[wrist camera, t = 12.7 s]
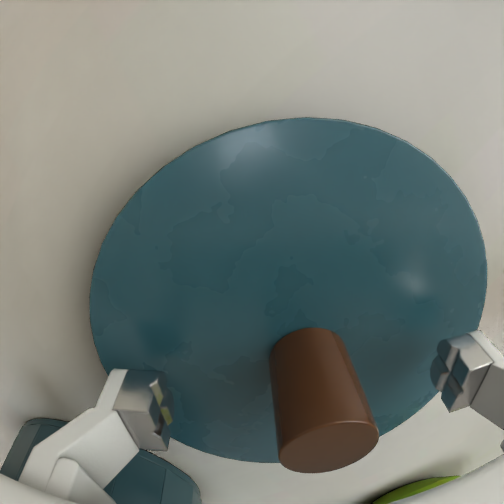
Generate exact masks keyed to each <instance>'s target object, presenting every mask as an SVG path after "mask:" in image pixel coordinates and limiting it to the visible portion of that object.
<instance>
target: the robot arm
mask: <svg viewBox="0 0 504 504" xmlns="http://www.w3.org/2000/svg"><path fill="white" fill-rule="evenodd" d="M436 351H437V353H438V355H437V357H436V358H435V359H434V360H433V361H432V364H431V368H430V378H431V381H432V384H433V386H434V387H435V389H437V390H439V391H441V392H442V395H441V399H442V401H443V403H444V404H445V406H446V408H447V409H448V411H449V413H450V412H453V411H456V410H459V409H462V408H465V407H467V406H470V407H471V408H472V409H474V410H475V411H476V412H478V413H479V414H481V415H482V416H484V417H485V418H487V419H488V420H490V421H491V422H493V423H494V424H496V425H497V426H498V427H500V428H501V429H503V430H504V356H503V355H502V354H501V353H500V351H499V350H498V349H497V348H496V347H495V346H494V345H493V344H492V342H491V341H490V340H489V339H488V338H487V337H486V336H485V335H484V334H483V333H482V332H481V331H479V330H475V331H472V332H468V333H466V334H461V335H458V336H454V337H450V338H447V339H443V340H441V341H440V342H439V344H438V346H437V349H436ZM167 381H168V380H167V378H166V375H165V373H164V372H163V371H154V370H135V369H130V370H128V369H116V368H114V369H113V370H112V371H111V372H110V374H109V376H108V378H107V381H106V383H105V385H104V387H103V390H102V392H101V394H100V396H99V399H98V401H97V403H96V406H95V408H89V409H87V410H86V411H85V412H83V413H82V414H80V415H79V416H78V417H76V418H75V419H73V420H72V421H70V422H69V423H68V424H66V425H65V426H63V427H62V428H60V429H59V430H58V431H56V432H55V433H53V434H52V435H50V436H49V437H47V438H46V439H45V440H43V441H42V442H40V443H39V444H37V445H36V446H34V447H33V449H32V451H31V453H30V456H29V458H28V460H27V462H26V464H25V467H24V469H23V471H22V473H21V476H20V478H19V480H18V481H16V480H13V479H11V478H9V477H7V476H5V475H3V474H1V473H0V504H116V502H115V501H114V499H112V498H111V497H110V496H109V495H108V494H107V493H106V492H105V491H104V490H103V489H104V488H105V487H106V486H107V485H108V483H109V482H110V481H111V480H112V479H113V478H114V477H115V476H116V475H117V474H118V473H119V472H120V471H121V470H122V469H123V468H124V467H125V466H126V465H127V464H128V463H129V462H130V460H131V459H132V458H133V457H134V456H135V455H136V454H137V453H138V452H139V449H143V450H157V451H167V450H168V445H169V439H170V434H171V432H170V430H169V428H168V425H169V424H170V423H171V422H172V421H173V418H174V399H173V395H172V392H171V391H170V390H169V389H168V388H167V387H166V385H167ZM501 448H502V450H503V452H504V440H503V441H502V443H501ZM388 504H504V454H503V455H501V456H499V457H497V458H496V459H494V460H492V461H490V462H488V463H486V464H485V465H483V466H481V467H479V468H477V469H475V470H473V471H471V472H469V473H467V474H464V475H462V476H460V477H458V478H456V479H454V480H451V481H449V482H447V483H444V484H442V485H439V486H437V487H434V488H432V489H429V490H427V491H424V492H421V493H418V494H416V495H413V496H410V497H407V498H404V499H401V500H398V501H394V502H391V503H388Z"/></svg>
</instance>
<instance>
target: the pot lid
mask: <svg viewBox="0 0 504 504" xmlns="http://www.w3.org/2000/svg"><path fill="white" fill-rule="evenodd" d="M486 288H487V260H486V253H485V246H484V240H483V237H482V234H481V230H480V227H479V224H478V221H477V218H476V216H475V214H474V212H473V210H472V208H471V206H470V204H469V202H468V200H467V198H466V197H465V195H464V194H463V193H462V191H461V190H460V188H459V187H458V186H457V184H456V183H455V182H454V180H453V179H452V178H451V176H450V175H449V174H448V173H447V172H446V171H445V170H444V169H443V168H441V167H440V166H439V165H438V164H437V163H436V162H435V161H434V160H433V159H432V158H431V157H429V156H428V155H426V154H425V153H424V152H422V151H421V150H419V149H418V148H416V147H415V146H413V145H412V144H410V143H408V142H407V141H405V140H403V139H401V138H398V137H396V136H394V135H392V134H389V133H387V132H385V131H382V130H380V129H378V128H374V127H370V126H367V125H363V124H358V123H354V122H350V121H346V120H339V119H326V118H310V117H303V118H291V119H281V120H271V121H265V122H261V123H257V124H253V125H250V126H246V127H242V128H238V129H235V130H231V131H228V132H226V133H224V134H221V135H219V136H217V137H214V138H212V139H210V140H208V141H205V142H203V143H201V144H199V145H197V146H195V147H193V148H191V149H190V150H188V151H187V152H185V153H183V154H182V155H180V156H179V157H177V158H176V159H174V160H173V161H171V162H170V163H168V164H167V165H165V166H164V167H162V168H161V169H160V170H159V171H158V172H157V173H156V174H155V175H153V176H152V177H151V178H150V179H149V180H148V181H147V182H146V183H145V184H144V185H143V186H142V187H140V188H139V189H138V190H137V191H136V193H135V194H134V195H133V196H132V198H131V199H130V200H129V201H128V203H127V204H126V205H125V206H124V208H123V209H122V210H121V212H120V213H119V214H118V216H117V217H116V219H115V221H114V222H113V224H112V226H111V228H110V230H109V232H108V233H107V235H106V237H105V239H104V241H103V243H102V246H101V248H100V251H99V254H98V257H97V260H96V263H95V266H94V270H93V276H92V282H91V289H90V323H91V329H92V334H93V339H94V344H95V346H96V349H97V352H98V355H99V358H100V361H101V363H102V365H103V367H104V369H105V371H106V373H107V375H108V376H109V374H110V372H111V371H112V370H113V369H114V368H116V369H128V370H130V369H135V370H154V371H163V372H164V373H165V375H166V378H167V380H168V381H167V385H166V387H167V388H168V389H169V390H170V391H171V392H172V395H173V399H174V418H173V421H172V422H171V423H170V424H169V425H168V428H169V430H170V432H171V434H170V437H171V438H173V439H175V440H177V441H179V442H181V443H183V444H185V445H187V446H190V447H192V448H195V449H198V450H200V451H203V452H206V453H209V454H213V455H216V456H220V457H224V458H229V459H234V460H240V461H248V462H259V463H281V464H282V465H283V466H284V467H285V468H287V469H289V470H292V471H295V472H300V473H322V472H328V471H333V470H337V469H340V468H343V467H345V466H348V465H350V464H352V463H354V462H356V461H358V460H360V459H361V458H363V457H364V456H366V455H367V454H368V453H369V452H370V451H371V450H372V449H373V448H374V447H375V446H376V444H377V442H378V439H379V437H380V436H382V435H383V434H385V433H387V432H389V431H391V430H392V429H394V428H395V427H397V426H398V425H400V424H401V423H403V422H404V421H406V420H407V419H409V418H410V417H411V416H412V415H414V414H415V413H416V412H417V411H419V410H420V409H421V408H422V407H424V406H425V405H426V404H427V403H428V402H429V401H430V400H431V399H432V398H433V397H434V396H435V395H436V394H437V393H438V392H439V390H437V389H435V387H434V386H433V384H432V381H431V378H430V368H431V364H432V361H433V360H434V359H435V358H436V357H437V355H438V353H437V351H436V349H437V346H438V344H439V342H440V341H441V340H443V339H447V338H450V337H454V336H458V335H461V334H466V333H468V332H472V331H475V330H477V328H478V326H479V322H480V319H481V315H482V311H483V308H484V303H485V296H486Z"/></svg>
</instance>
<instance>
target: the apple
mask: <svg viewBox="0 0 504 504" xmlns="http://www.w3.org/2000/svg"><path fill="white" fill-rule="evenodd" d="M458 477H460V476H449V477H437V478H430V479H425V480H421V481H418V482H414V483H411V484H408V485H405V486H403V487H401V488H398V489H396V490H394V491H391V492H389V493H388V494H386V495H384V496H382V497H380V498H379V499H377V500H376V501H374V502H373V503H372V504H388V503H391V502H394V501H398V500H401V499H404V498H407V497H410V496H413V495H416V494H418V493H421V492H424V491H427V490H429V489H432V488H434V487H437V486H439V485H442V484H444V483H447V482H449V481H451V480H454V479H456V478H458Z"/></svg>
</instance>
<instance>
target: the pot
mask: <svg viewBox="0 0 504 504" xmlns="http://www.w3.org/2000/svg"><path fill="white" fill-rule="evenodd" d="M68 423H69V422H65V421H60V420H54V419H44V418H41V419H33V420H30V421H28V422H27V423H25V424H24V426H22V428H21V430H20V432H19V434H18V436H17V437H16V439H15V441H14V443H13V445H12V447H11V449H10V451H9V453H8V455H7V457H6V459H5V461H4V464H3V466H2V468H1V470H0V473H1V474H3V475H5V476H7V477H9V478H11V479H13V480H16V481H18V480H19V478H20V476H21V473H22V471H23V469H24V467H25V464H26V462H27V460H28V458H29V456H30V453H31V451H32V449H33V447H34V446H36V445H37V444H39V443H40V442H42V441H43V440H45V439H46V438H47V437H49V436H50V435H52V434H53V433H55V432H56V431H58V430H59V429H60V428H62V427H63V426H65V425H66V424H68ZM103 490H104V491H105V492H106V493H107V494H108V495H109V496H110V497H111V498H112V499H114V501H115V502H116V504H201V502H202V501H201V499H200V491H199V488H198V487H197V485H196V484H195V482H194V481H193V480H192V479H191V478H190V477H189V476H187V475H186V474H185V473H183V472H182V471H181V470H179V469H178V468H176V467H175V466H173V465H172V464H170V463H168V462H166V461H164V460H163V459H161V458H159V457H157V456H155V455H153V454H151V453H149V452H147V451H145V450H143V449H139V452H138V453H137V454H136V455H135V456H134V457H133V458H132V459H131V460H130V462H129V463H128V464H127V465H126V466H125V467H124V468H123V469H122V470H121V471H120V472H119V473H118V474H117V475H116V476H115V477H114V478H113V479H112V480H111V481H110V482H109V483H108V485H107V486H106V487H105V488H104V489H103Z"/></svg>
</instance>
